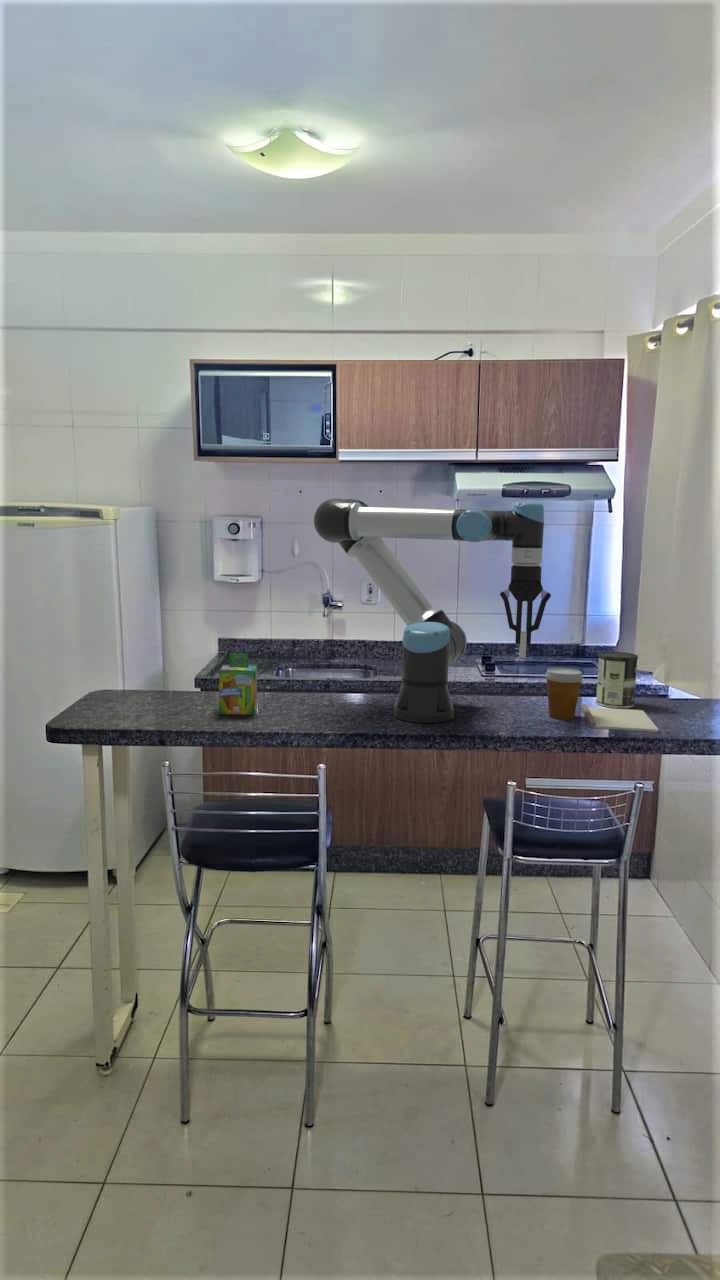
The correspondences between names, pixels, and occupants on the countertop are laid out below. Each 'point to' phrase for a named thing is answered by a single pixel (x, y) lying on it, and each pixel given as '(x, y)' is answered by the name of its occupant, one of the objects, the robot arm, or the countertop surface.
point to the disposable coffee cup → (563, 692)
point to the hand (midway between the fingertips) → (522, 656)
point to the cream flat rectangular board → (618, 719)
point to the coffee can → (616, 679)
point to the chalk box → (238, 687)
